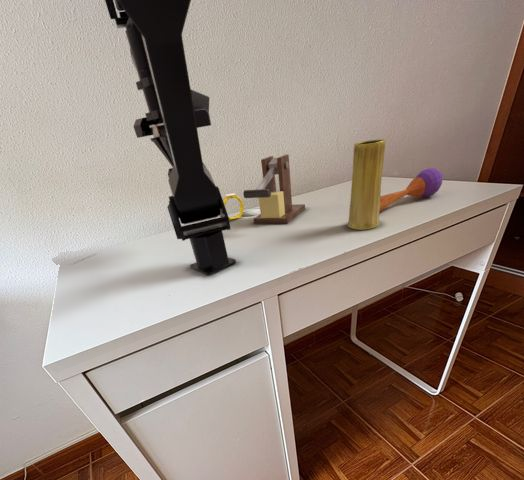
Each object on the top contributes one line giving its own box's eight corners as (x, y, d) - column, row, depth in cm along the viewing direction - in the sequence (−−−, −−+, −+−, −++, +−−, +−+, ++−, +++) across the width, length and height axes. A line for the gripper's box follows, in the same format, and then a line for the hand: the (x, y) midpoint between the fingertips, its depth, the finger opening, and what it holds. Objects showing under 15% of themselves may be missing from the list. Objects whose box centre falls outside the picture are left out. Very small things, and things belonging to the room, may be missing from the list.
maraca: (360, 193, 65) (425, 167, 70) (363, 221, 68) (425, 194, 73) (380, 190, 60) (448, 162, 65) (383, 220, 63) (448, 191, 68)
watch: (227, 222, 76) (222, 197, 73) (222, 221, 78) (217, 196, 75) (246, 216, 79) (242, 192, 75) (241, 215, 80) (237, 191, 77)
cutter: (287, 223, 68) (282, 159, 61) (254, 223, 72) (245, 163, 64) (305, 209, 76) (302, 150, 68) (274, 209, 80) (268, 154, 72)
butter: (279, 218, 69) (277, 194, 66) (261, 218, 71) (258, 195, 68) (285, 213, 71) (283, 191, 68) (266, 214, 73) (264, 192, 70)
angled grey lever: (269, 200, 62) (266, 189, 60) (245, 201, 65) (241, 190, 63) (290, 167, 68) (288, 156, 66) (267, 169, 70) (265, 158, 68)
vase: (384, 222, 60) (394, 137, 51) (369, 231, 57) (377, 143, 48) (357, 219, 64) (362, 140, 55) (342, 228, 61) (344, 145, 52)
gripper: (226, 54, 46) (243, 169, 56) (171, 77, 58) (193, 168, 67) (163, 57, 41) (194, 183, 51) (117, 82, 53) (150, 179, 62)
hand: (183, 177), depth 58 cm, fingers closed
